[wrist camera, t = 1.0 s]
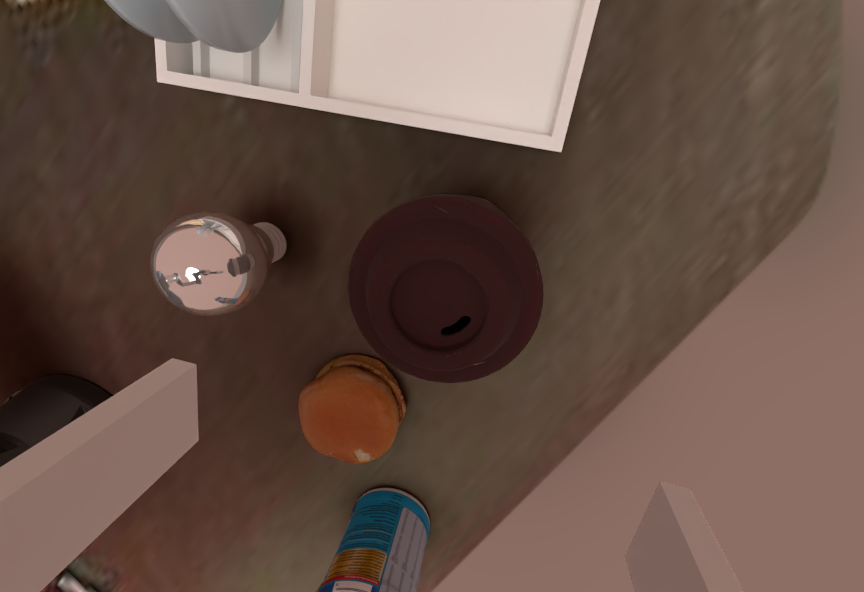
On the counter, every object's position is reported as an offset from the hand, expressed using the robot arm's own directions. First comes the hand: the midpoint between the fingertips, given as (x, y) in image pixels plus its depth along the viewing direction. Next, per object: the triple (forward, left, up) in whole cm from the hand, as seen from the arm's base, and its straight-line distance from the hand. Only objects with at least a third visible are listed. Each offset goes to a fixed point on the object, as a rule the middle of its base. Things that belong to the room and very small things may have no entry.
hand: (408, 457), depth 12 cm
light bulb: (-17, -2, -24) cm, 29 cm away
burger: (-8, -16, -24) cm, 30 cm away
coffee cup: (-1, +1, -24) cm, 24 cm away
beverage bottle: (-3, -29, -24) cm, 38 cm away
